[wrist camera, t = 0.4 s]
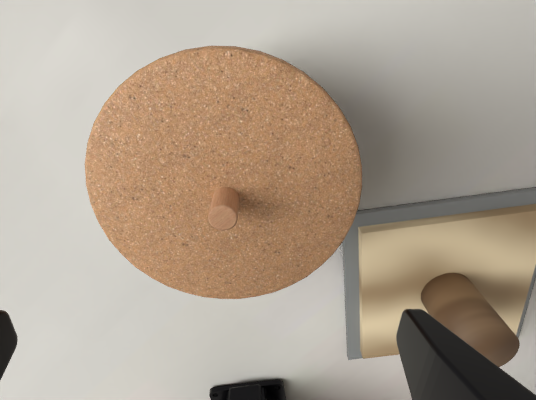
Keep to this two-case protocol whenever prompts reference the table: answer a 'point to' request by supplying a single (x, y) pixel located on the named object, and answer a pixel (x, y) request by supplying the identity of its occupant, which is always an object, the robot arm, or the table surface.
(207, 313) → the table surface
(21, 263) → the table surface
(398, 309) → the lid
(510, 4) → the table surface
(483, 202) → the mat
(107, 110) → the lidded jar
